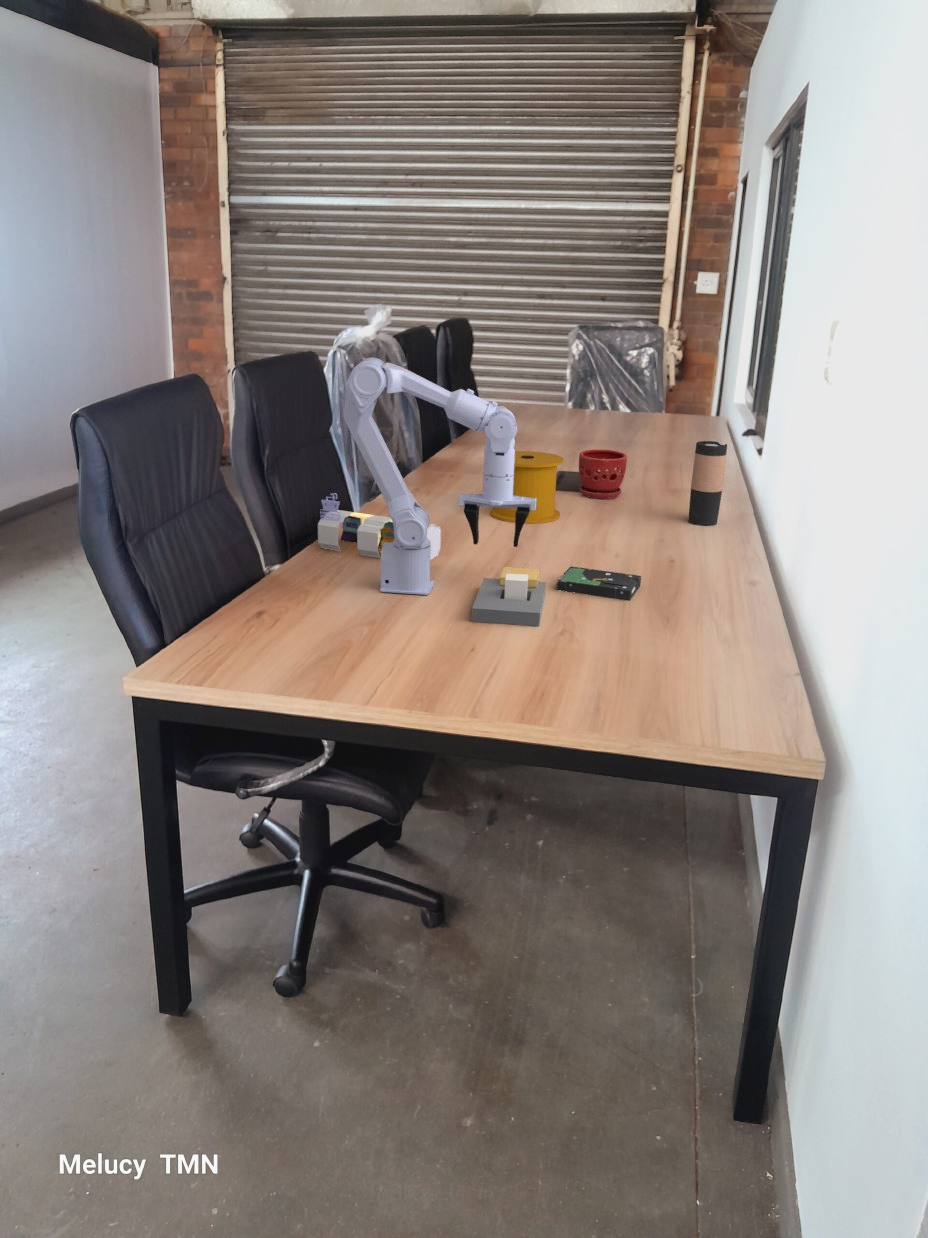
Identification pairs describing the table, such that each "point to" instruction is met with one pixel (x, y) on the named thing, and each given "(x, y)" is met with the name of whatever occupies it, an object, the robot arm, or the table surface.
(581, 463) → the plant pot
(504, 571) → the yellow flat square block
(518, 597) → the plug
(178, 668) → the table surface
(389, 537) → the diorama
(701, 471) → the travel mug
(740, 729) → the table surface
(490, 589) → the socket plate
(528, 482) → the spool
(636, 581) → the disk drive
